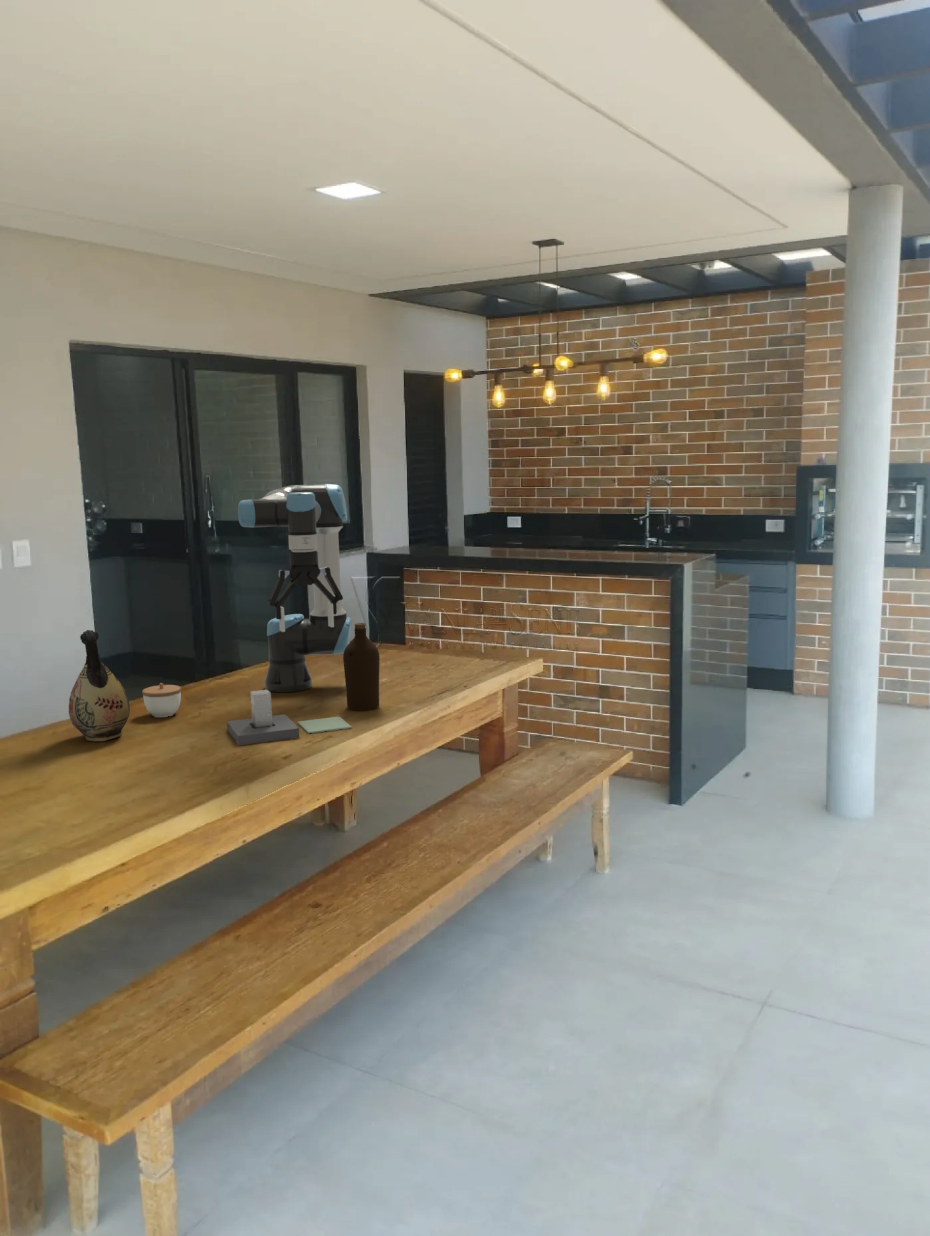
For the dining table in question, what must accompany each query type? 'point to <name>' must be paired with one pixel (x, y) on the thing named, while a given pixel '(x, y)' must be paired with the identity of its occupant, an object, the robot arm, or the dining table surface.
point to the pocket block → (262, 730)
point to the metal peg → (261, 709)
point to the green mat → (324, 725)
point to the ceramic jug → (97, 697)
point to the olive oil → (361, 671)
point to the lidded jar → (162, 699)
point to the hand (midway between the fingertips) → (307, 628)
